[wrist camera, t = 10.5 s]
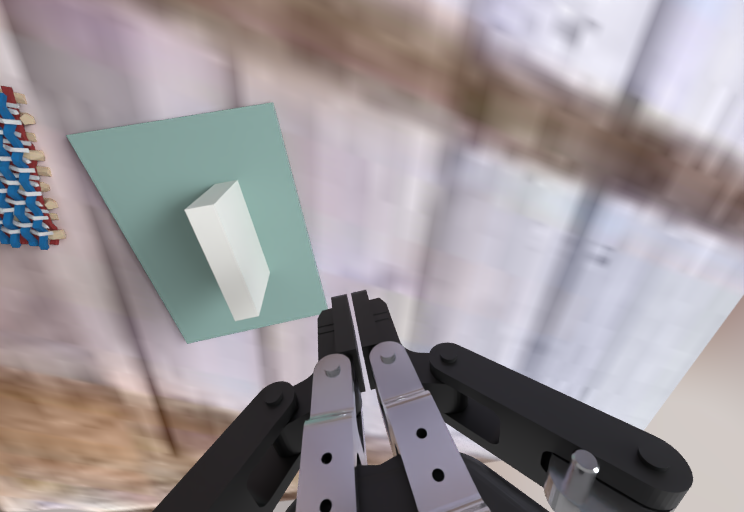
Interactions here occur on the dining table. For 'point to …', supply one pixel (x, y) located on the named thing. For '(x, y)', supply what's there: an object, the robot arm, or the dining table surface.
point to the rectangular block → (231, 247)
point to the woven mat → (23, 180)
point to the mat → (185, 185)
